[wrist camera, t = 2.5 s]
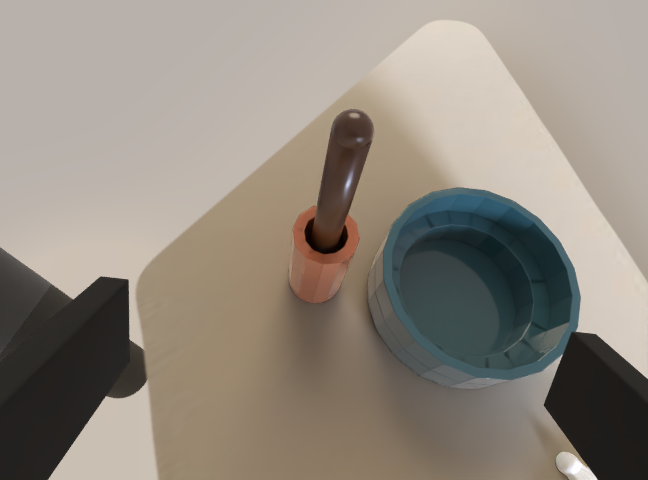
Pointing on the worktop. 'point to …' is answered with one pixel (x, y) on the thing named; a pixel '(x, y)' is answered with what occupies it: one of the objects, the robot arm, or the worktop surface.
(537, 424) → the worktop surface
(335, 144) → the stirring stick
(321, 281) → the crock
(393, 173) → the worktop surface
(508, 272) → the bowl
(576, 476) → the acanthus leaf ornament
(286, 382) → the worktop surface
